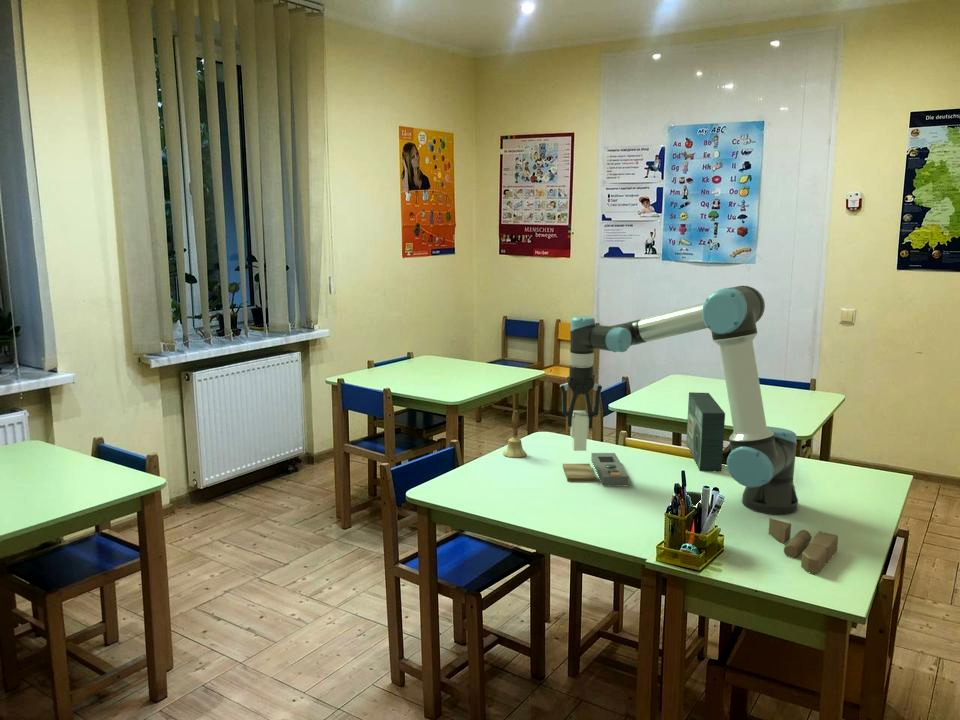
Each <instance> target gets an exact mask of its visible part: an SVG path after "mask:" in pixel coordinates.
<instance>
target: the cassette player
mask: <svg viewBox="0 0 960 720" xmlns="http://www.w3.org/2000/svg"><path fill="white" fill-rule="evenodd" d="M687 406H688V407H687V420H686V421H687V423H686V425H687V427H686V444H685V446H686V447H687V449H688V448H689V449H690V450H691V451H689V452H690V455H691V457H692V459H693V461H694V463H695V462H696V463H695V464H697V465H696V467H697V466H698V467H697V469H698V470H699V472H713V471H716V473H721V472H722V469H723V455H724V453H723V452H724V437H725V436H724V435H725V425H726V423H725V422H726V413H725V411H724V410H723V409H722V408H721V406H720V405H719V403H718V402H717V401H716V400H715V399H714V398H713V396H712V395H711V394H710V393H709V392H693V391H692V392H691V391H690V392H688V405H687ZM689 449H688V450H689Z"/></svg>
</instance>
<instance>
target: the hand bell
mask: <svg viewBox="0 0 960 720" xmlns="http://www.w3.org/2000/svg"><path fill="white" fill-rule="evenodd" d="M511 424H512V437H510V438H509V439H508V443H507V447H506V449H505V450H504V451H503V453H502V455H503V456H505V457H508V458H514V459H515V458H517V459H518V458H525V456H527V452H526V450H525V449H524V448H523V445H522V439H521V438H519V437H518V434H519V433H518V428H519V424H520V415H519V411H518V410H513V413H512V416H511Z"/></svg>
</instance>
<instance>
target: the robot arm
mask: <svg viewBox="0 0 960 720" xmlns="http://www.w3.org/2000/svg"><path fill="white" fill-rule="evenodd" d="M765 308H766V304H765V299H764V297H763V295H762V293H761V292H760V291H759V290H758V289H756V288H754V287H752V286H749V285H738V286H733V287H724V288H721V289H718V290H717V291H714V292H712V293H710V294H709V296H707V298H706V299H705V301H704V302H703V303H702V302H701V303H698V304H695V305H690V306H686V307H682V308H679V309H678V308H677V309H674V310H671V311H667V312H663V313H660V314H655V315H652V316H648V317H644V318H640V319H637V320H631V321H629V322H624V323H619V324H614V325H600V324H596V320H595V318H594V317H592V316H582V315H581V316H578V315H577V316H574V317H572V319H571V321H570V330H569V333H570V334H569V335H570V337H569V338H570V348H569V349H570V350H569V364H570V366H569V372H568V373H569V375H568V376H569V377H568V380H567V382H566V383H561V384H559V388H560V391H561V412H562V416H566V417H567V426H568V427H570V438H572V437H574V416H573V411H575V405H576V401H577V398H578V395H584V399H585V405H586V411H587V412H586V413H587V438H589V432H590V431H589V430H590V428H591V427H592V426H593V417H595V416H598V415H599V411H600V410H599V407H600V395H601V391H602V389H603V386H602V385H601V384H599V383H595V381H594V366H593V365H594V362H595V361H594V358H595V357H594V356H595V355H594V353H595V350H602V351H608V352H612V353H625V352H627V351H628V349H629V348H630V347H632V346H636V345H640V344H646V343H647V342H651V341H652V342H653V341H657V340H661V339H665V338H670V337H675V336H679V335H682V334H689V333H691V332H693V333H694V332H696V331H700V330H706V329H708V330H710V332H711V337H712V341H713V342H714V343H715V344H716V345H718V346H719V349H720V355H721V362H722V366H723V374H724V381H725V387H726V392H727V398H728V399H727V400H728V404H729V410H730V417H731V422H732V429H733V432H732V433H731V435H730V436H729V439H728V440H729V445H730V453H729V454H728V456H727V460H726V467H727V471H728V473H729V475H730V476H731V478H732V479H733V480H734V481H735V482H737V483H738V484H740V485H741V486H744V490H743V493H742V498H741V502H742V504H743V506H744V507H746V508H748V509H750V510H753V511H756V512H758V513H762V514H767V515H769V514H770V515H778V516H779V515H790V514H793V513H795V512H797V511H798V509H799V508H798V507H799V500H798V495H797V492H796V489H795V488H796V487H795V483H794V477H795V476H794V475H795V462H796V451H797V445H798V442H797V434H796V432H794V431H793V430H789V429H786V428H783V427H776V426H769V425H767V422H766V415H765V410H764V404H763V403H764V402H763V398H762V397H763V396H762V392H761V391H762V390H761V385H760V384H761V383H760V377H759V371H758V366H757V362H756V361H757V360H756V359H757V358H756V354H755V349H754V348H755V347H754V343H753V342H754V339H755V337H757V336H758V329H757V324H756V323H758V322H759V321H760V320H761V319H762V318H763V315H764V314H765V313H764V312H765ZM568 387H569V388H570V390H571V391H572V393H571V396H570V397H571V399H570V402H569V405H568V410H567V404H568V403H567V391H568ZM591 389H593V390H594V401H593V411H592V406H591V405H592V404H591V399H590V393H589V392H590V391H591ZM589 427H590V428H589Z"/></svg>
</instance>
